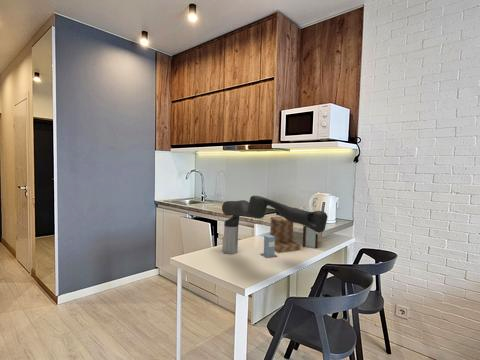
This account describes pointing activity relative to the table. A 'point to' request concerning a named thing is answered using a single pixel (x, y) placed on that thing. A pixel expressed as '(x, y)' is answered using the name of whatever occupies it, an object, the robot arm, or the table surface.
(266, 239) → the carton
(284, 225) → the shelf
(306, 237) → the protein box
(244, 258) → the table surface
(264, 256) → the mat
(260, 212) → the robot arm
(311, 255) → the table surface
